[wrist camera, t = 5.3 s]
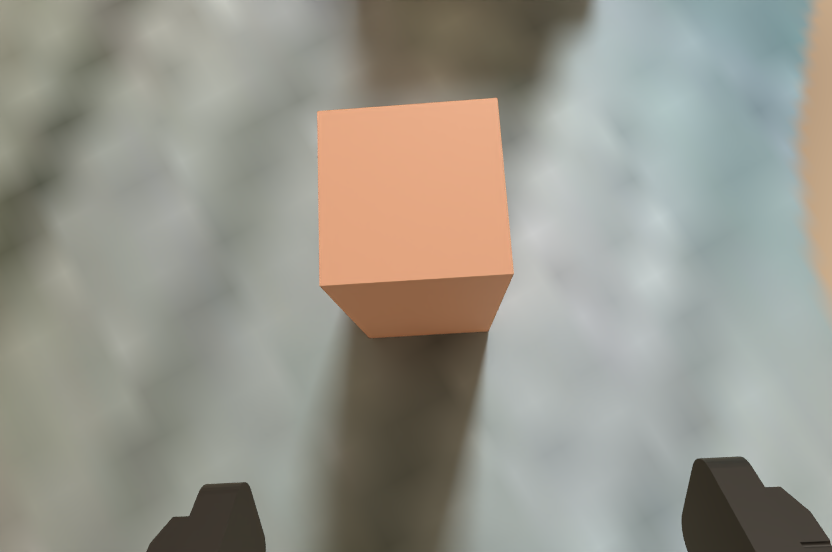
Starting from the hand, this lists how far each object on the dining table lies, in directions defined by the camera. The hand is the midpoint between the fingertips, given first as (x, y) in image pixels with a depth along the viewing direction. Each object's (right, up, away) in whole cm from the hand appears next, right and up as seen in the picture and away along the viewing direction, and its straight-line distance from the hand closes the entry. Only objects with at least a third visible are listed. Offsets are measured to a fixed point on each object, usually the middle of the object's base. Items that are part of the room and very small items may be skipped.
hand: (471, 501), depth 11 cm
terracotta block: (-1, +4, +12) cm, 13 cm away
